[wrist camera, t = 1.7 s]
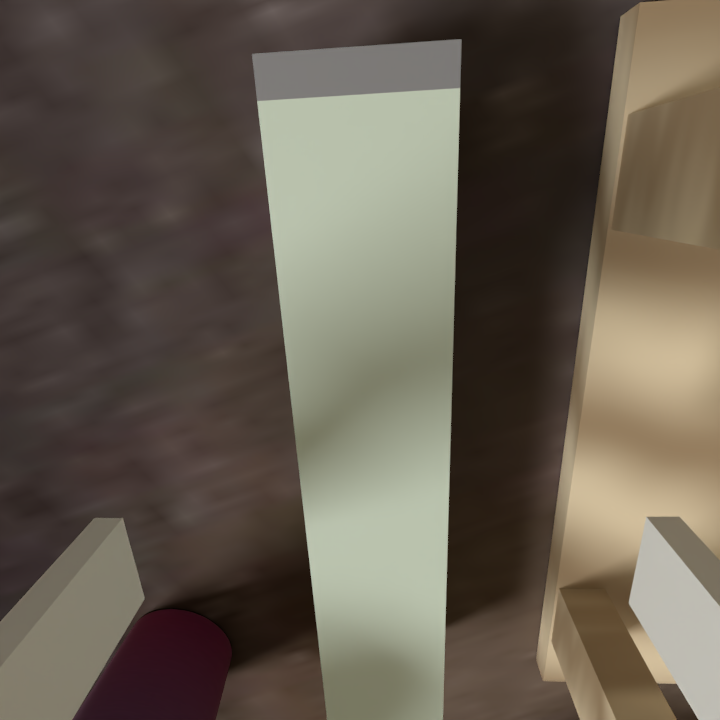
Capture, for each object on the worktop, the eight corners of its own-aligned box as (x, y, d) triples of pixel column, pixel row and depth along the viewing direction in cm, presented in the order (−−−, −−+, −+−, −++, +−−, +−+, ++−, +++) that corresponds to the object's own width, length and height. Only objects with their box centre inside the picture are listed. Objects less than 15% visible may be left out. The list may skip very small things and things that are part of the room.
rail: (298, 100, 13) (252, 53, 9) (433, 92, 13) (461, 38, 8) (343, 632, 21) (331, 758, 16) (428, 634, 21) (441, 762, 16)
